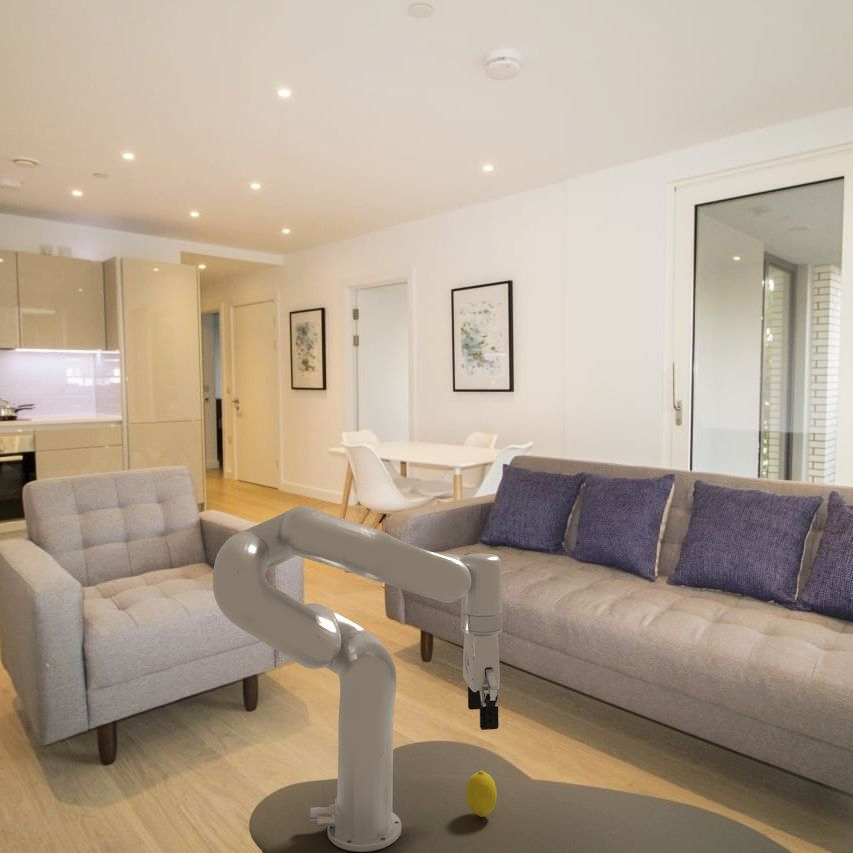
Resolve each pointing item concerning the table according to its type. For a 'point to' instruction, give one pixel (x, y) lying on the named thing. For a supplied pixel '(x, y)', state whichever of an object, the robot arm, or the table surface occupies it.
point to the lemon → (481, 793)
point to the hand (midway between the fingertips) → (482, 718)
